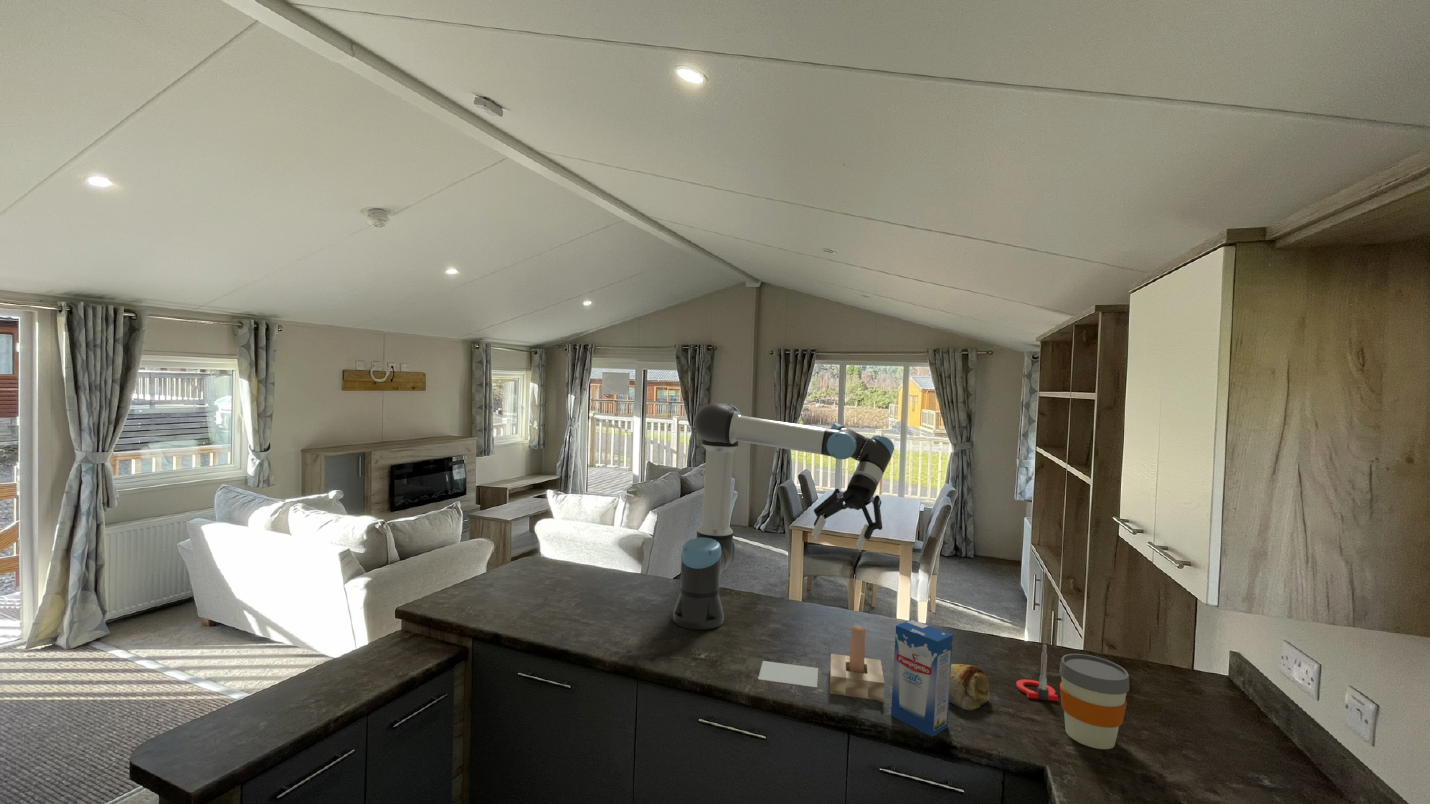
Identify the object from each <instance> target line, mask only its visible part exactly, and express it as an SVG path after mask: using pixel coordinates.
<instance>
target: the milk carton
mask: <svg viewBox="0 0 1430 804" xmlns="http://www.w3.org/2000/svg"><path fill="white" fill-rule="evenodd" d="M953 639H954V634H952V633H950V632H947V631H944V630H942V629H939V628H937V627H933V626H930V625H927V624H926V623H923V622H920V621H917V620H915V619H909V620H907V621H904V622H902V623H899V624H896V625H895V638H894V654H893V655H894V657H893V672H892V673H893V675H892V690H891V691H892V692H891V695H892V696H891V707H890V708H891V711H890V712H891V713H890V716H891V717H892V718H895V719H896V720H898V721H900V722H902V723H904V724H906V725H907V726H910V727H912V728H914V729H916V730H917V731H920V732H922V733H923V734H925V735H927V736H929V737H931V738H933V737H935V736H936V735H937V734H939V733H942V732H943V731H944V730H945V729H947V728H949V715H950V712H949V711H950V709H949V708H950V702H949V696H950V679H951V664H952V660H953V659H952V658H953V657H952V656H953V643H954V642H953V641H954V640H953Z"/></svg>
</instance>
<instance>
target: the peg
mask: <svg viewBox="0 0 1430 804" xmlns="http://www.w3.org/2000/svg"><path fill="white" fill-rule="evenodd" d="M866 634H867V628H866V627H864V626H861V625H853V626H851V628H850V647H849V656H850V664H849V671H850V672H857V673H864V658H866V657H865V653H866V639H867V638H866V636H867V635H866Z"/></svg>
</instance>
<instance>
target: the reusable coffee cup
mask: <svg viewBox="0 0 1430 804" xmlns="http://www.w3.org/2000/svg"><path fill="white" fill-rule="evenodd" d="M1058 671H1059V674H1060V678H1061V681H1060V683H1059V690H1060V691H1059V693H1060V703H1061V704H1060V705H1061V708H1062V709H1063V715H1064V716H1063V717H1064V725H1065V726H1064V727H1065V732H1066V735H1068V737H1069V738H1071V739H1072V740H1074V741H1076V742H1077V743H1079V744H1081V745H1084V746H1085V747H1086V746H1087V747H1090V748H1094V749H1099V750H1109V749H1113V748H1114V747H1115V746H1116V741H1117V737H1118V733H1119V727H1120V726H1121V725H1123V722H1124V718H1125V712H1126V709H1127V705H1128V702H1127V699H1126V696H1127V693H1128V692H1130V678H1129V677H1130V676H1129V673H1128V671H1127V670H1126V668H1124V667H1122V666H1121V665H1119V664H1118V663H1117V664H1116V663H1115V662H1113V661H1111V660H1107V659H1105V658H1103V657H1098V656H1094V655H1090V654H1084V653H1083V654H1082V653H1067V654H1064V655H1063V656H1062V657H1061V660H1060V665H1059V670H1058Z"/></svg>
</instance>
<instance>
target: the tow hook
mask: <svg viewBox="0 0 1430 804" xmlns="http://www.w3.org/2000/svg"><path fill="white" fill-rule="evenodd" d="M1047 664H1048V654H1047V644H1045V643H1044V644H1042V652H1041V658H1040V676H1039V680H1033V679H1019V680H1016V682H1015V687H1016V688H1017V689H1018V690H1019V691H1021V692H1022V693H1023V694H1025V695H1026V698H1027V699H1034V700H1038V701H1046V702H1047V701H1050V702H1059V696H1058V694H1056V693H1057V692H1056V690H1055V689H1054V688H1053V687H1052V686H1050V685H1049V684H1048V678H1047V666H1048V665H1047ZM1026 686H1035V687H1036V691H1035V690H1031V689H1030V688H1027V687H1026Z"/></svg>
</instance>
